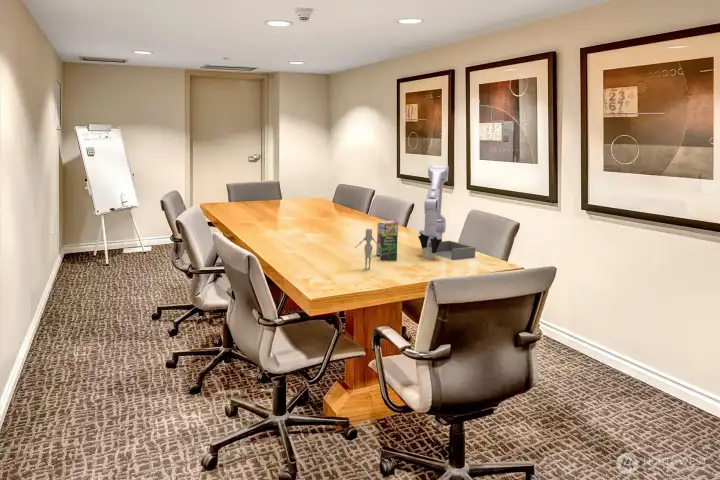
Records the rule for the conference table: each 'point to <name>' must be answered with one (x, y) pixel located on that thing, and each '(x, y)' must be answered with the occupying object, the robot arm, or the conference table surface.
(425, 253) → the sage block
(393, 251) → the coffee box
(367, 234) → the human figurine
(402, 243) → the conference table surface
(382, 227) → the candy bar box
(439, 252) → the open box
